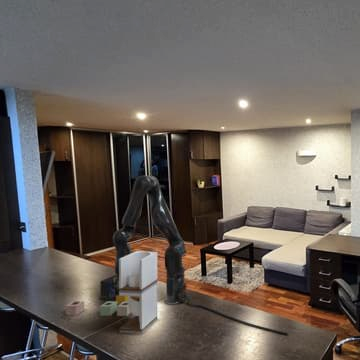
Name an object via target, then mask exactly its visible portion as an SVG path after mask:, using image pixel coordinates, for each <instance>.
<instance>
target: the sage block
mask: <svg viewBox="0 0 360 360" xmlns="http://www.w3.org/2000/svg"><path fill="white" fill-rule="evenodd" d="M117 306H118V304H117V302H116V301H109V300H107V301H106V302H105V303H103V304H101V305H100V306H99V315H100V316H101V317H111V316H112V315H113V314H115V313H117Z"/></svg>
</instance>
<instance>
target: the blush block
mask: <svg viewBox="0 0 360 360" xmlns="http://www.w3.org/2000/svg"><path fill="white" fill-rule="evenodd" d="M84 311H85V300H74V301H72V302H70V303H68V304H66V305H65V315H66V316H78V315H79V314H80V313H81V314H82V313H83V312H84Z"/></svg>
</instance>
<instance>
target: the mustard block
mask: <svg viewBox="0 0 360 360" xmlns="http://www.w3.org/2000/svg"><path fill="white" fill-rule="evenodd" d="M115 302H117V305H120V304H121V303H123V302H129V296H120V295H119V296H118V295H116V297H115Z"/></svg>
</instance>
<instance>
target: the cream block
mask: <svg viewBox="0 0 360 360" xmlns="http://www.w3.org/2000/svg"><path fill="white" fill-rule="evenodd" d="M130 314H132V313H131V312H130V311H129V301H128V302H123V303H121V304H118V305H117V311H116V317H128V316H129V315H130Z"/></svg>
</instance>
